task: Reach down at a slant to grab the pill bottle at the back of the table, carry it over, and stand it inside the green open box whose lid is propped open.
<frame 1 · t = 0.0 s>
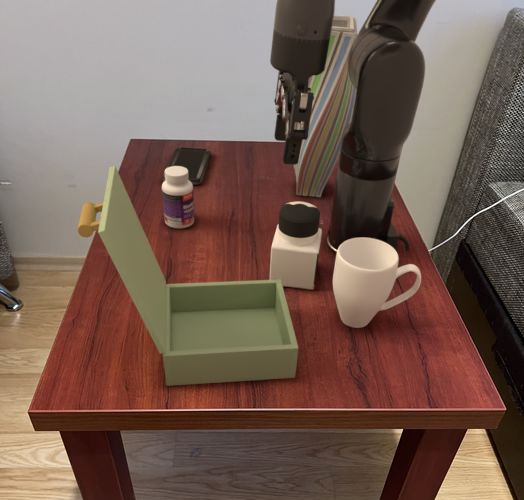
hand: (285, 151, 81), 17 cm above the table, tool pointing down, fingers open, 8 cm apart
green box lid: (123, 264, 64), point 14 cm above the table, hinge at 105.0°
green open box: (227, 343, 75), on the table
phone: (187, 168, 115), on the table
vase: (308, 191, 110), on the table
mug: (367, 321, 80), on the table
medicine bottle: (293, 276, 88), on the table
pill bottle: (179, 222, 99), on the table
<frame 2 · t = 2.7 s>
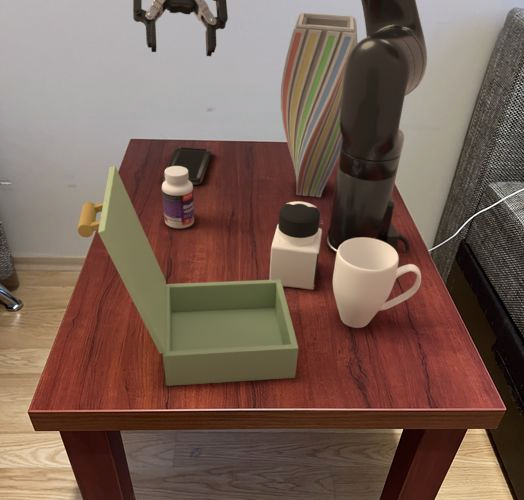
hand: (182, 52, 84), 27 cm above the table, tool tilted 35°, fingers open, 8 cm apart
nothing on the table moved.
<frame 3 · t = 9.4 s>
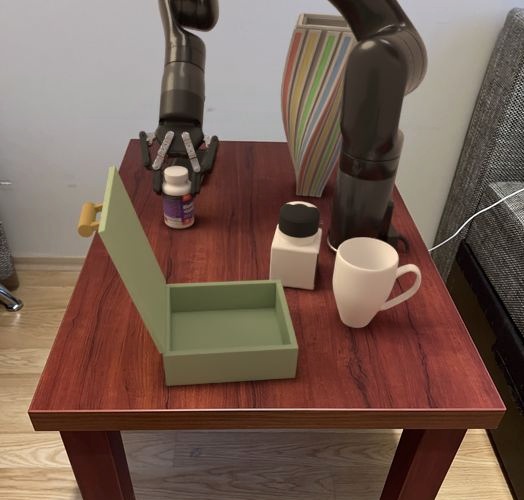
hand: (175, 194, 93), 6 cm above the table, tool tilted 45°, fingers closed on pill bottle, 5 cm apart
pill bottle: (179, 222, 99), on the table, touching gripper
everything else where it was.
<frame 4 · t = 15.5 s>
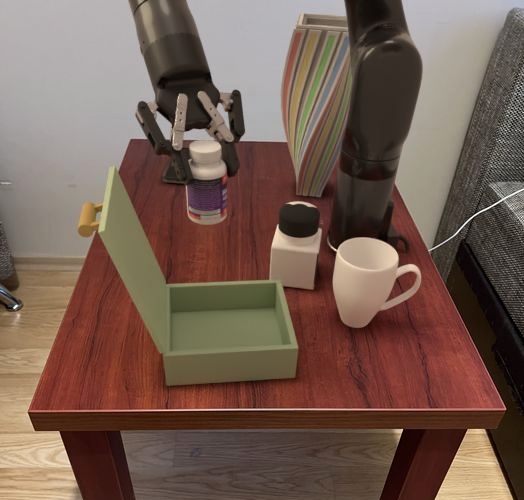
hand: (211, 178, 68), 20 cm above the table, tool tilted 45°, fingers closed on pill bottle, 5 cm apart
pill bottle: (207, 217, 74), point 13 cm above the table, touching gripper
everything else where it was.
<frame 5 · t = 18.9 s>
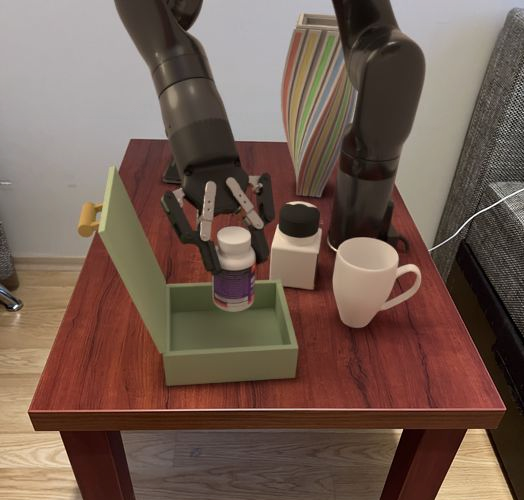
hand: (240, 267, 65), 14 cm above the table, tool tilted 45°, fingers closed on pill bottle, 5 cm apart
pill bottle: (233, 301, 70), point 7 cm above the table, touching gripper
everything else where it was.
when the fingers open (7 cm above the table, at t = 21.7 s): pill bottle stays where it is, resting on green open box.
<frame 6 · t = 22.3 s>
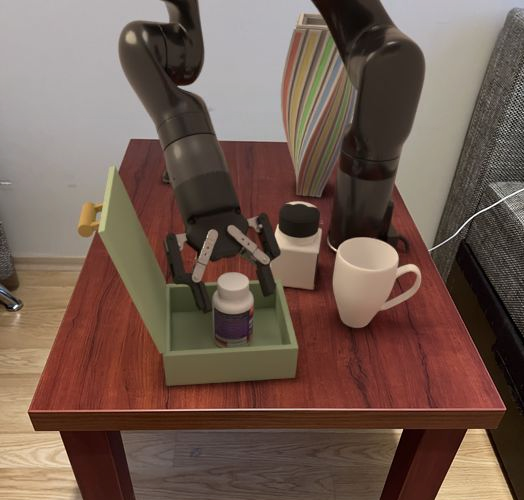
hand: (239, 303, 69), 8 cm above the table, tool tilted 45°, fingers open, 8 cm apart
pill bottle: (232, 339, 75), point 1 cm above the table, touching green open box
everything else where it was.
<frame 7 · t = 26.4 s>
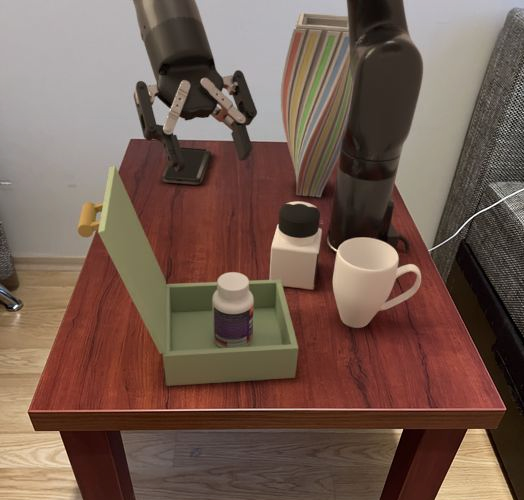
hand: (214, 163, 66), 22 cm above the table, tool tilted 45°, fingers open, 8 cm apart
nothing on the table moved.
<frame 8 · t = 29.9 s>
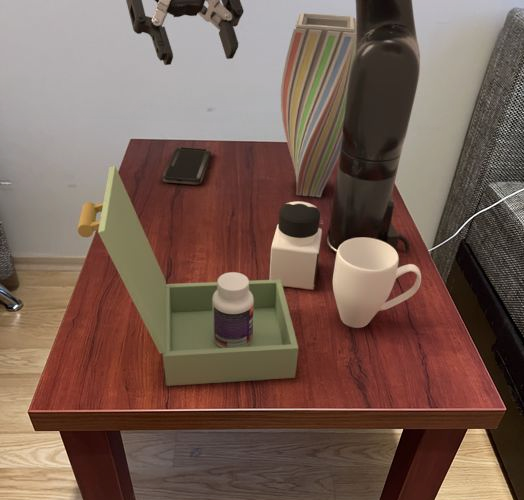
hand: (201, 58, 68), 31 cm above the table, tool tilted 45°, fingers open, 8 cm apart
nothing on the table moved.
at the end: pill bottle inside the target area in the green open box (0.8 cm from its centre), point 0.6 cm above the green open box's base; pill bottle tilted 0°; the gripper is holding nothing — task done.
